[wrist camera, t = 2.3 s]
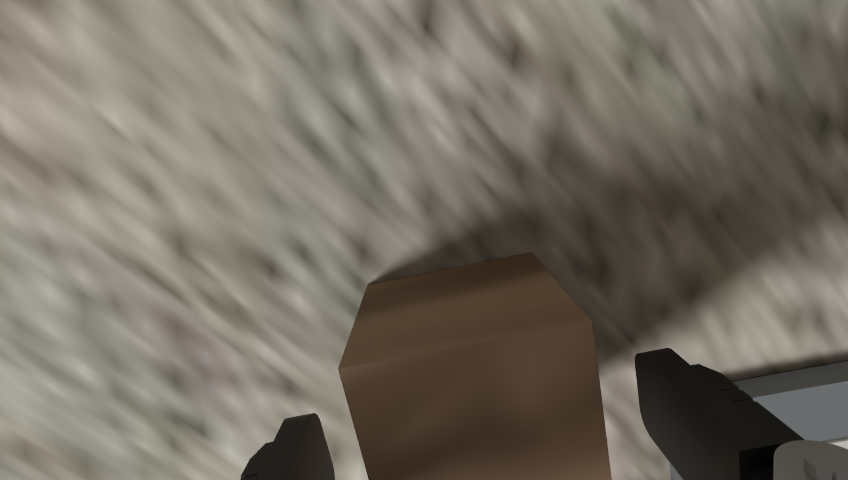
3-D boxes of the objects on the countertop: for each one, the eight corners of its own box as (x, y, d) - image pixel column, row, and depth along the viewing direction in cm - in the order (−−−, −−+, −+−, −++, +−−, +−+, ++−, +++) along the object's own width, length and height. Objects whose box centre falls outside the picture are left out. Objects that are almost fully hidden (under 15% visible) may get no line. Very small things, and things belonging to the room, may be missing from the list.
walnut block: (367, 283, 14) (338, 368, 9) (531, 251, 14) (592, 321, 9) (402, 424, 15) (393, 567, 10) (553, 397, 15) (618, 530, 10)
